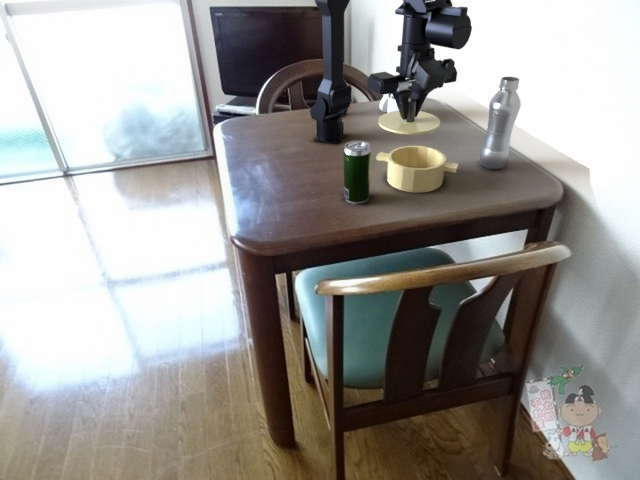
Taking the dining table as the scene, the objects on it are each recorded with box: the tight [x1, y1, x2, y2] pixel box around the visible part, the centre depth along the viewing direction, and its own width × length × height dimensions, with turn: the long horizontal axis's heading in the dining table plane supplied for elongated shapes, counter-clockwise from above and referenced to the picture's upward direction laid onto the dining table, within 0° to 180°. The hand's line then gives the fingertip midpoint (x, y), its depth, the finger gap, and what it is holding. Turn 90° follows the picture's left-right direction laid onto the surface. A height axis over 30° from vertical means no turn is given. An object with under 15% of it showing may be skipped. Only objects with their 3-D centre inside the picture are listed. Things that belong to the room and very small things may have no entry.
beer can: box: [343, 140, 372, 205], centre depth 89 cm, size 5×5×12 cm
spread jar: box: [378, 78, 412, 113], centre depth 129 cm, size 12×11×12 cm
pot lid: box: [377, 98, 441, 136], centre depth 94 cm, size 13×13×6 cm
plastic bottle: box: [478, 76, 522, 170], centre depth 96 cm, size 6×7×20 cm
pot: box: [375, 145, 459, 194], centre depth 97 cm, size 12×18×6 cm
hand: (409, 118), depth 95 cm, fingers closed on pot lid, 2 cm apart
